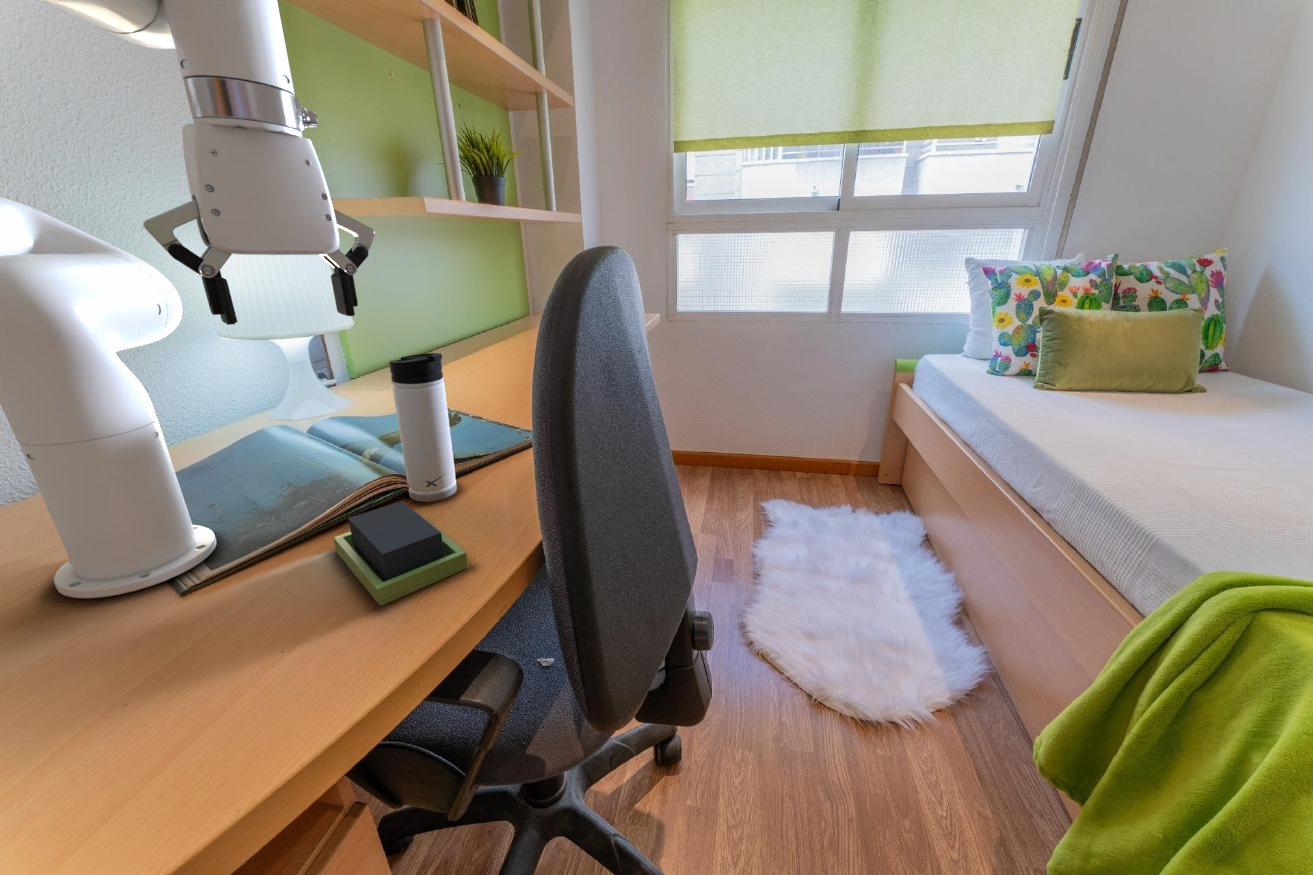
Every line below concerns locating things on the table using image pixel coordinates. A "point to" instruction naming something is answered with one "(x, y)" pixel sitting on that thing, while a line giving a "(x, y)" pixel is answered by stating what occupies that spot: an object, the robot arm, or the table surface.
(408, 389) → the travel mug
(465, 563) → the frame
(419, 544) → the dark gray block
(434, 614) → the table surface
